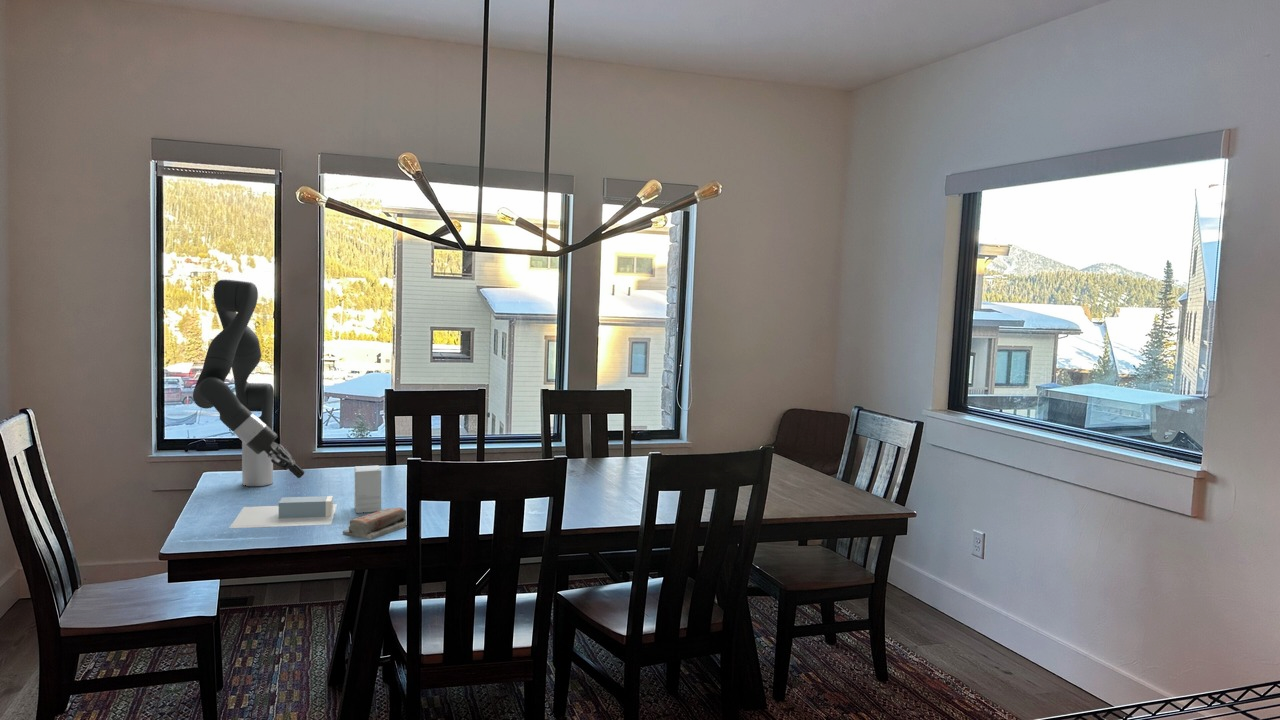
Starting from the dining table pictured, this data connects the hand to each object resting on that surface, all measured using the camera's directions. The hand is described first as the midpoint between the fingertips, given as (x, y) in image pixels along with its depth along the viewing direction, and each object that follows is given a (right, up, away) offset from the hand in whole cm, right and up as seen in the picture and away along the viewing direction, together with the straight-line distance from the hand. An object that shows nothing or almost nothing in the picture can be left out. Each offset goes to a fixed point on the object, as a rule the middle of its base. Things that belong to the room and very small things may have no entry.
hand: (302, 475), depth 242 cm
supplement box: (+15, -12, +11) cm, 22 cm away
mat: (-4, -12, 0) cm, 13 cm away
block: (-6, -9, -1) cm, 11 cm away
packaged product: (+25, -14, -8) cm, 30 cm away
